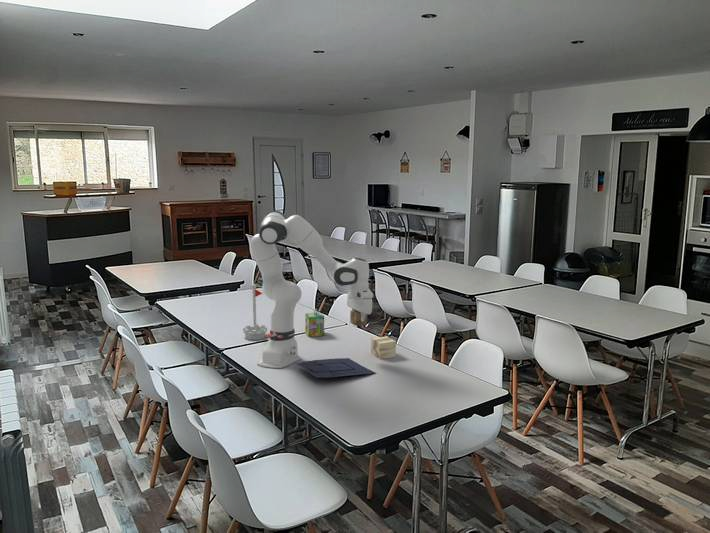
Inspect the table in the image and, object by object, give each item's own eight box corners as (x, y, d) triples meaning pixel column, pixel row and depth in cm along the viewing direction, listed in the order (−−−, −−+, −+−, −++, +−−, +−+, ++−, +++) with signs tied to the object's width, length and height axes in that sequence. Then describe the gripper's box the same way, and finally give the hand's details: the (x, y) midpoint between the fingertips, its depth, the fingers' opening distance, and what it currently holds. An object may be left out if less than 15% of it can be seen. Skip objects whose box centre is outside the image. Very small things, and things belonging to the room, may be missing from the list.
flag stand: (239, 338, 291) (237, 285, 286) (250, 332, 303) (248, 280, 298) (260, 341, 287) (258, 286, 282) (271, 334, 299) (269, 282, 294)
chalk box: (305, 333, 301) (304, 307, 299) (320, 331, 304) (320, 306, 302) (308, 337, 293) (308, 311, 290) (324, 336, 295) (324, 310, 293)
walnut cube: (366, 324, 256) (367, 312, 255) (355, 325, 253) (356, 313, 252) (361, 321, 261) (361, 309, 260) (350, 322, 258) (350, 310, 257)
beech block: (395, 356, 262) (395, 341, 261) (379, 359, 258) (379, 343, 257) (386, 351, 270) (386, 336, 269) (371, 353, 266) (371, 338, 265)
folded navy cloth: (292, 367, 243) (293, 360, 243) (347, 363, 260) (348, 356, 259) (318, 385, 223) (319, 376, 223) (376, 379, 240) (376, 371, 239)
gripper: (344, 287, 262) (343, 315, 264) (363, 295, 244) (362, 325, 246) (355, 287, 265) (354, 314, 267) (375, 295, 247) (374, 323, 249)
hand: (358, 319), depth 257 cm, fingers closed on walnut cube, 6 cm apart
